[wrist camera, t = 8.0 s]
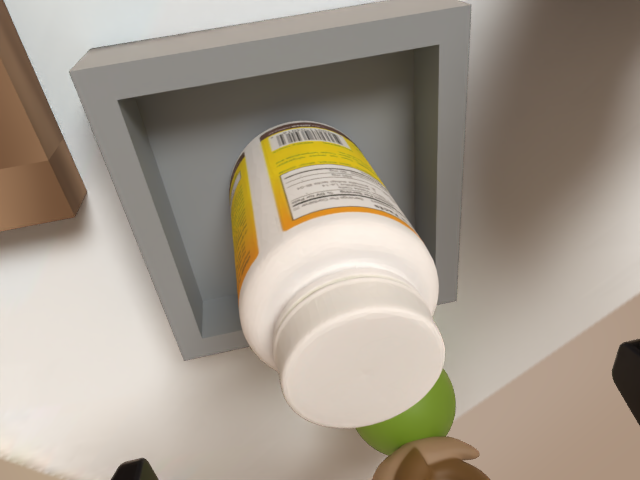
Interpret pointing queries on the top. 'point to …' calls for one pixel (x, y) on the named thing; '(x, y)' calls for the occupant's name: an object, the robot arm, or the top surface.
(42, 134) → the wooden rectangular frame
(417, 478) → the snail figurine
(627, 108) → the top surface
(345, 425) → the supplement bottle
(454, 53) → the parts tray
